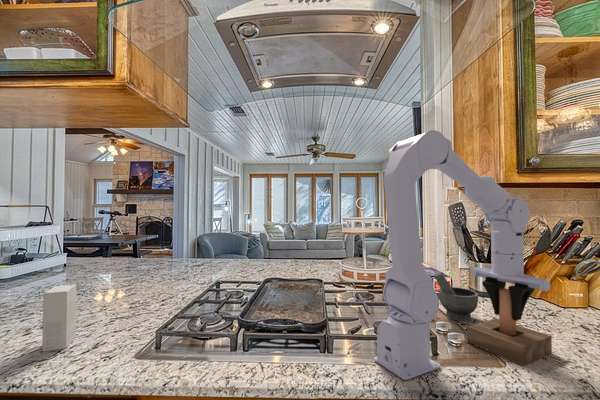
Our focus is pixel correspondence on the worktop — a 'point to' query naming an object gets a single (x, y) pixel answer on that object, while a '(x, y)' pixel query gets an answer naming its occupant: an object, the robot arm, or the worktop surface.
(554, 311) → the worktop surface
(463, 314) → the mortar and pestle
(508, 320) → the peg
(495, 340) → the walnut stand
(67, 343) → the skincare box
